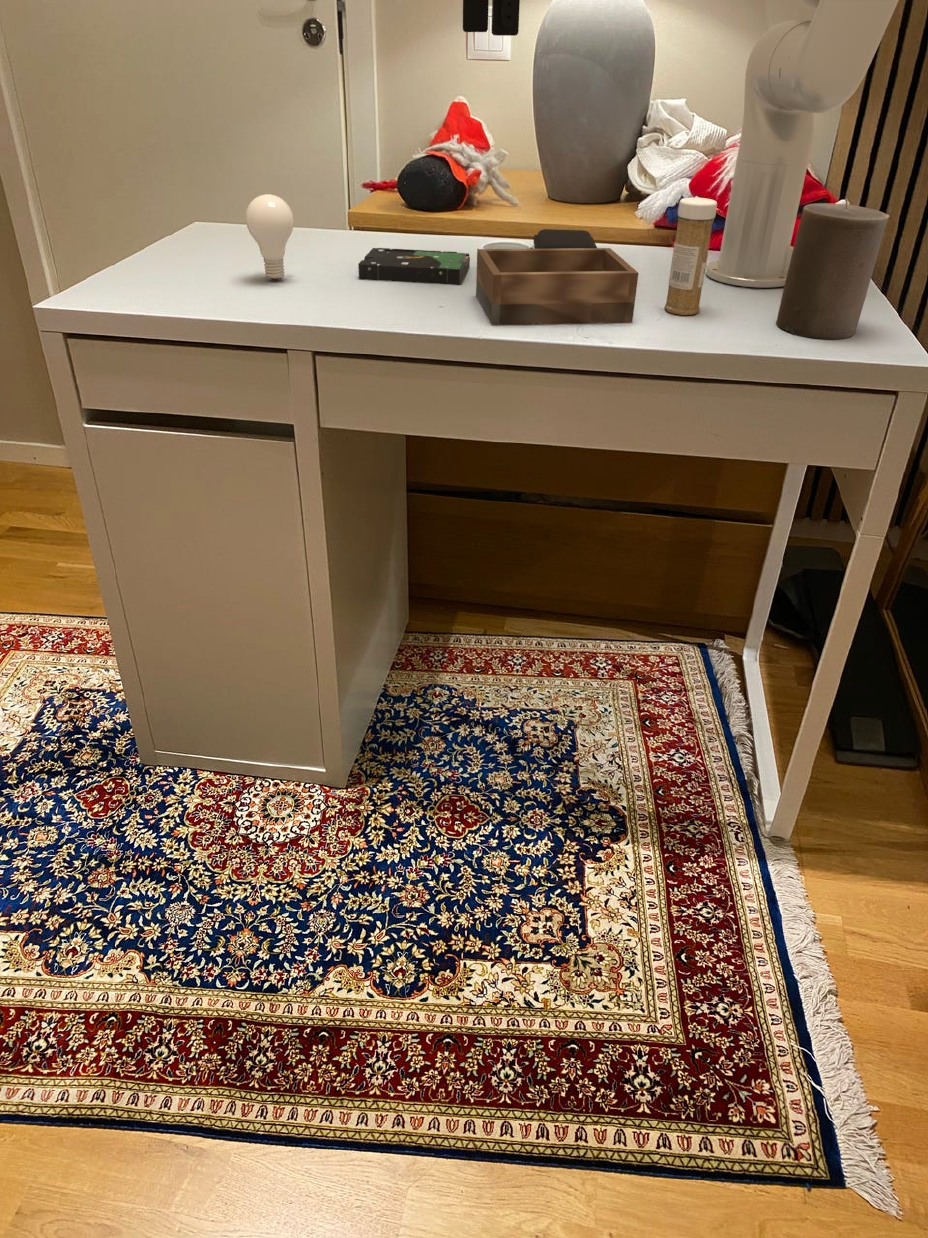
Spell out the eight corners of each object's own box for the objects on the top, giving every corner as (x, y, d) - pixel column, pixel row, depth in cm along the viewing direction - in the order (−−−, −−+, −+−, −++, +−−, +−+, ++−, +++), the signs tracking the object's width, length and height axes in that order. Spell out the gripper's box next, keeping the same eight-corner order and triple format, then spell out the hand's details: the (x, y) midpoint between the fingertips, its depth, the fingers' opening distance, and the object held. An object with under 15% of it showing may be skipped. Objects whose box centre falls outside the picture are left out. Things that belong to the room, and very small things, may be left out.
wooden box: (605, 293, 123) (610, 247, 120) (632, 322, 113) (638, 272, 109) (475, 295, 121) (477, 249, 118) (491, 325, 111) (493, 274, 107)
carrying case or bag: (526, 245, 148) (529, 268, 136) (527, 225, 146) (531, 246, 134) (590, 247, 148) (600, 270, 136) (592, 227, 146) (602, 248, 134)
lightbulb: (273, 271, 129) (265, 188, 123) (307, 278, 126) (301, 193, 120) (242, 281, 124) (232, 194, 118) (278, 288, 122) (269, 200, 116)
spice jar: (706, 313, 117) (725, 201, 109) (681, 318, 115) (699, 204, 107) (681, 304, 120) (698, 194, 112) (656, 309, 118) (672, 197, 110)
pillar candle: (781, 336, 109) (812, 203, 101) (771, 313, 117) (800, 188, 109) (863, 343, 108) (902, 209, 100) (847, 319, 116) (883, 193, 108)
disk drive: (358, 284, 127) (462, 288, 126) (357, 263, 125) (462, 267, 124) (372, 266, 136) (470, 269, 134) (371, 246, 134) (470, 250, 133)
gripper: (558, -160, 93) (547, 36, 103) (496, -142, 106) (492, 30, 116) (491, -165, 91) (486, 36, 101) (436, -146, 104) (437, 30, 114)
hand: (489, 33), depth 108 cm, fingers open, 9 cm apart
